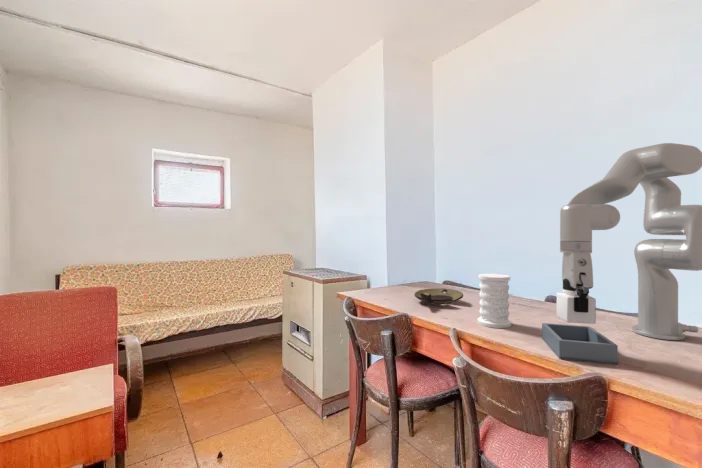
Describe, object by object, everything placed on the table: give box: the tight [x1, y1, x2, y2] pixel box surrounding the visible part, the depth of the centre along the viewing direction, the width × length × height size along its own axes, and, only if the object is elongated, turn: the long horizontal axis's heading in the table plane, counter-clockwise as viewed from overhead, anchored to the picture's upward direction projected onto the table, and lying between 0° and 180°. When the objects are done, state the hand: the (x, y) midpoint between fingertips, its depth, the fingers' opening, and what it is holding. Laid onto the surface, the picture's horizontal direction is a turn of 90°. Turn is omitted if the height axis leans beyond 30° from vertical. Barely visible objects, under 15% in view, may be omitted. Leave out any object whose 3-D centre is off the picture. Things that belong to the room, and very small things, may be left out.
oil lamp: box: [413, 287, 464, 306], centre depth 152 cm, size 22×30×8 cm
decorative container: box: [476, 273, 512, 329], centre depth 118 cm, size 12×12×18 cm
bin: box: [541, 322, 619, 366], centre depth 91 cm, size 13×17×5 cm
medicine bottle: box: [556, 278, 597, 325], centre depth 91 cm, size 7×7×12 cm
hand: (575, 308), depth 91 cm, fingers closed on medicine bottle, 7 cm apart
